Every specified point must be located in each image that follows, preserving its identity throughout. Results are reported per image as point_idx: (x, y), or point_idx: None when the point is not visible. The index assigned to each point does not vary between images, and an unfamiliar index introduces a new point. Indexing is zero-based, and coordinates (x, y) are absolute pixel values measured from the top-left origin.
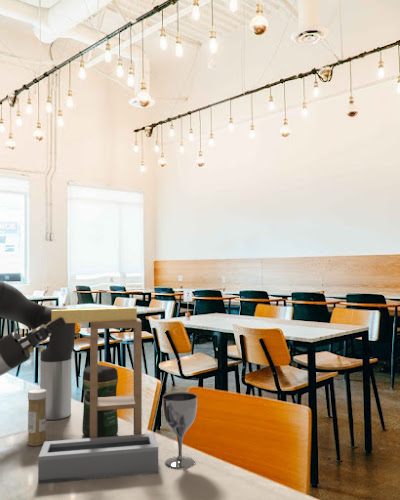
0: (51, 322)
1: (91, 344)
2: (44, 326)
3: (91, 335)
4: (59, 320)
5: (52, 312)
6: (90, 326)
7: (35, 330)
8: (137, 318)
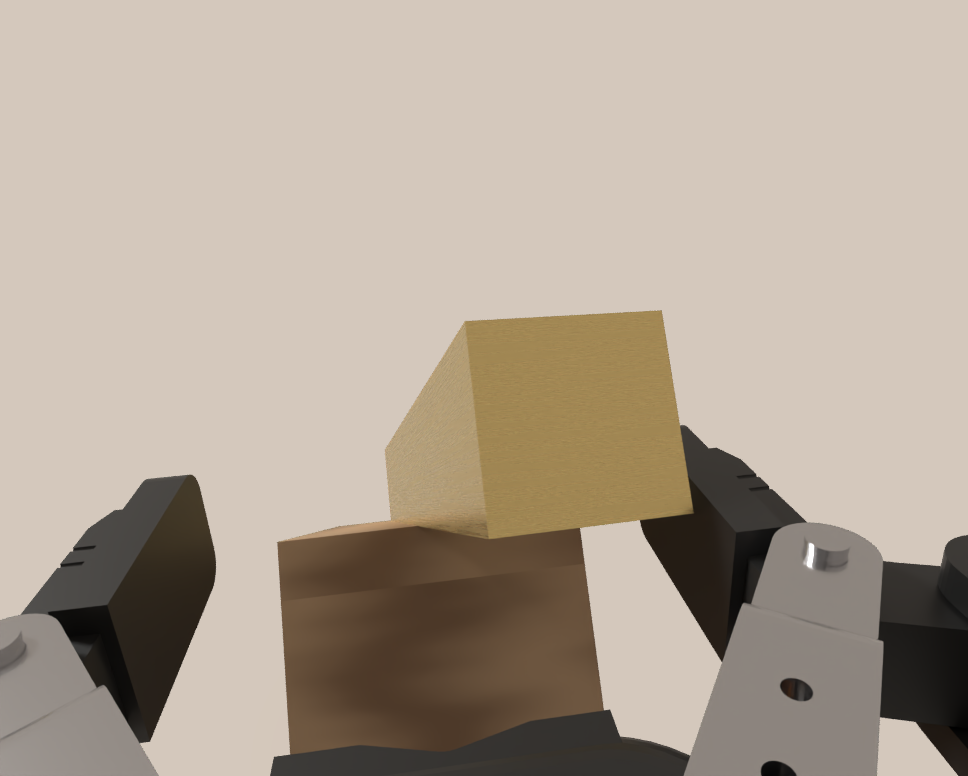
0: (687, 493)
1: (600, 702)
2: (856, 536)
3: (590, 619)
4: (720, 454)
5: (657, 340)
6: (580, 540)
7: (881, 682)
8: (339, 526)
